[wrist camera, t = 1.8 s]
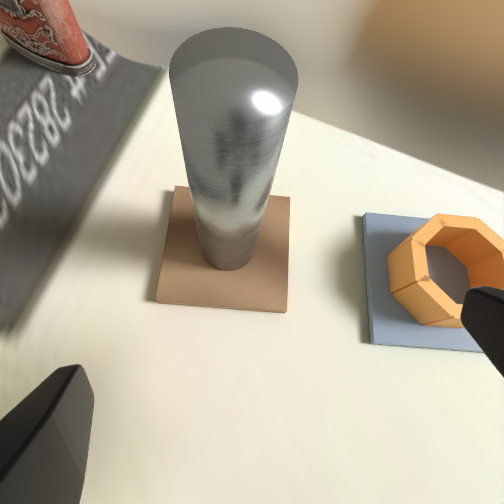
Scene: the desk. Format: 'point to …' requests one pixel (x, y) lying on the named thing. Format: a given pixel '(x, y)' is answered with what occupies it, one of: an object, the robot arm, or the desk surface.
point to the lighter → (46, 35)
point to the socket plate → (426, 277)
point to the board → (225, 282)
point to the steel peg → (231, 133)
